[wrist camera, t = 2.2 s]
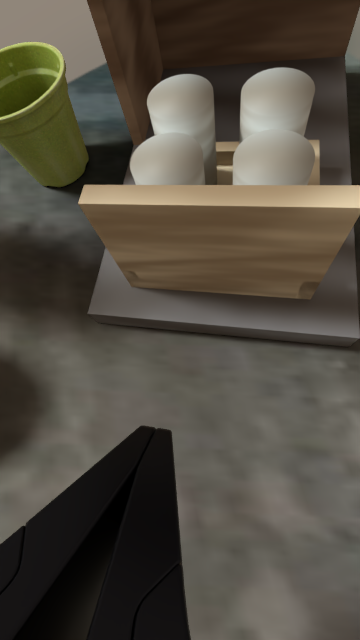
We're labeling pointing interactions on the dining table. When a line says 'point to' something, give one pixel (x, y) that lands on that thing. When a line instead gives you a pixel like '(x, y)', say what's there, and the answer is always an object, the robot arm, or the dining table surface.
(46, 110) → the plant pot
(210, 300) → the wooden display stand
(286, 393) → the dining table surface
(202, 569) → the dining table surface
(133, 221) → the tray
